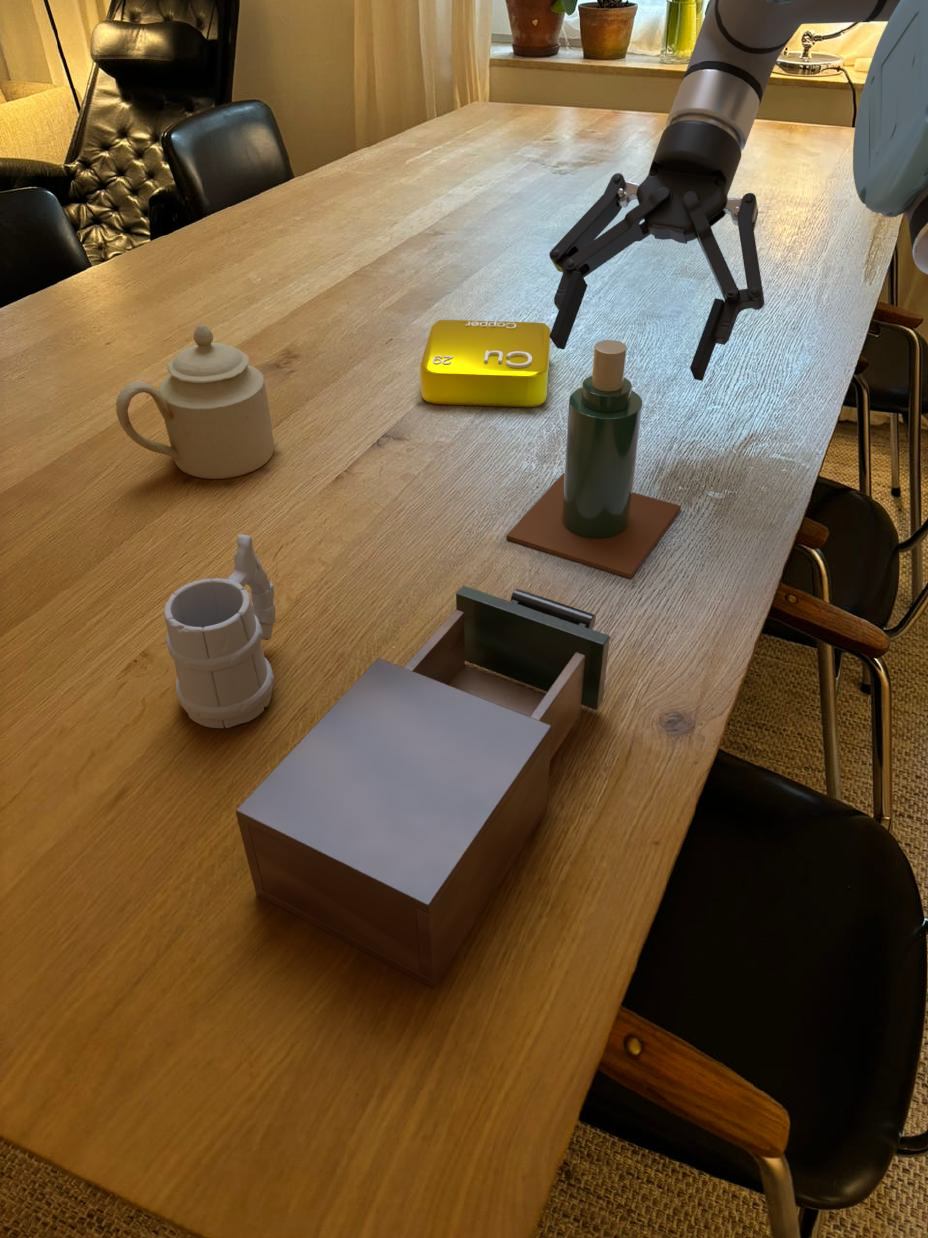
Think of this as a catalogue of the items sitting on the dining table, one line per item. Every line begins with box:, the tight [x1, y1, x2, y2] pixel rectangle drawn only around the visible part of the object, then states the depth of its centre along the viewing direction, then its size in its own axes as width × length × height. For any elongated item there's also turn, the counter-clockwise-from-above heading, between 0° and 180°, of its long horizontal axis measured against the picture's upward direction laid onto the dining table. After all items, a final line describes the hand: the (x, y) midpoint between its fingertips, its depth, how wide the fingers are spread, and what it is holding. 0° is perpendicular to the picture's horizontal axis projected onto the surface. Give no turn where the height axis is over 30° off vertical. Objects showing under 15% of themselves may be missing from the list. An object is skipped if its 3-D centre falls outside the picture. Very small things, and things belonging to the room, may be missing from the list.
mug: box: [163, 534, 276, 729], centre depth 78 cm, size 8×12×12 cm, turn 159°
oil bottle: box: [562, 339, 644, 539], centre depth 92 cm, size 7×7×18 cm
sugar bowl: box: [115, 322, 275, 480], centre depth 103 cm, size 15×11×15 cm
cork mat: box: [505, 472, 681, 579], centre depth 98 cm, size 13×13×1 cm
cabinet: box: [235, 657, 552, 989], centre depth 66 cm, size 16×14×9 cm
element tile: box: [419, 319, 552, 408], centre depth 121 cm, size 15×15×5 cm
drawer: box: [402, 585, 611, 761], centre depth 75 cm, size 19×13×7 cm
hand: (624, 358), depth 90 cm, fingers open, 13 cm apart
